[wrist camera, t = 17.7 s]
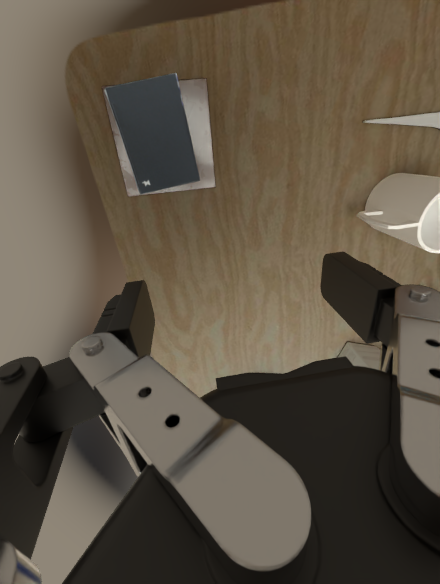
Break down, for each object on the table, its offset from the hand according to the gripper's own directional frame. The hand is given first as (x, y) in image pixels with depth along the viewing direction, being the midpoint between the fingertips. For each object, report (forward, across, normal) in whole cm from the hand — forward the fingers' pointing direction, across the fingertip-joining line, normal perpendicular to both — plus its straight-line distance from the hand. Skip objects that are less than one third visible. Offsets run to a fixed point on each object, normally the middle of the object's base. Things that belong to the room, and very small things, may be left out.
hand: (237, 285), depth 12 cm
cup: (+27, -26, +5) cm, 38 cm away
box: (+25, +4, -6) cm, 26 cm away
